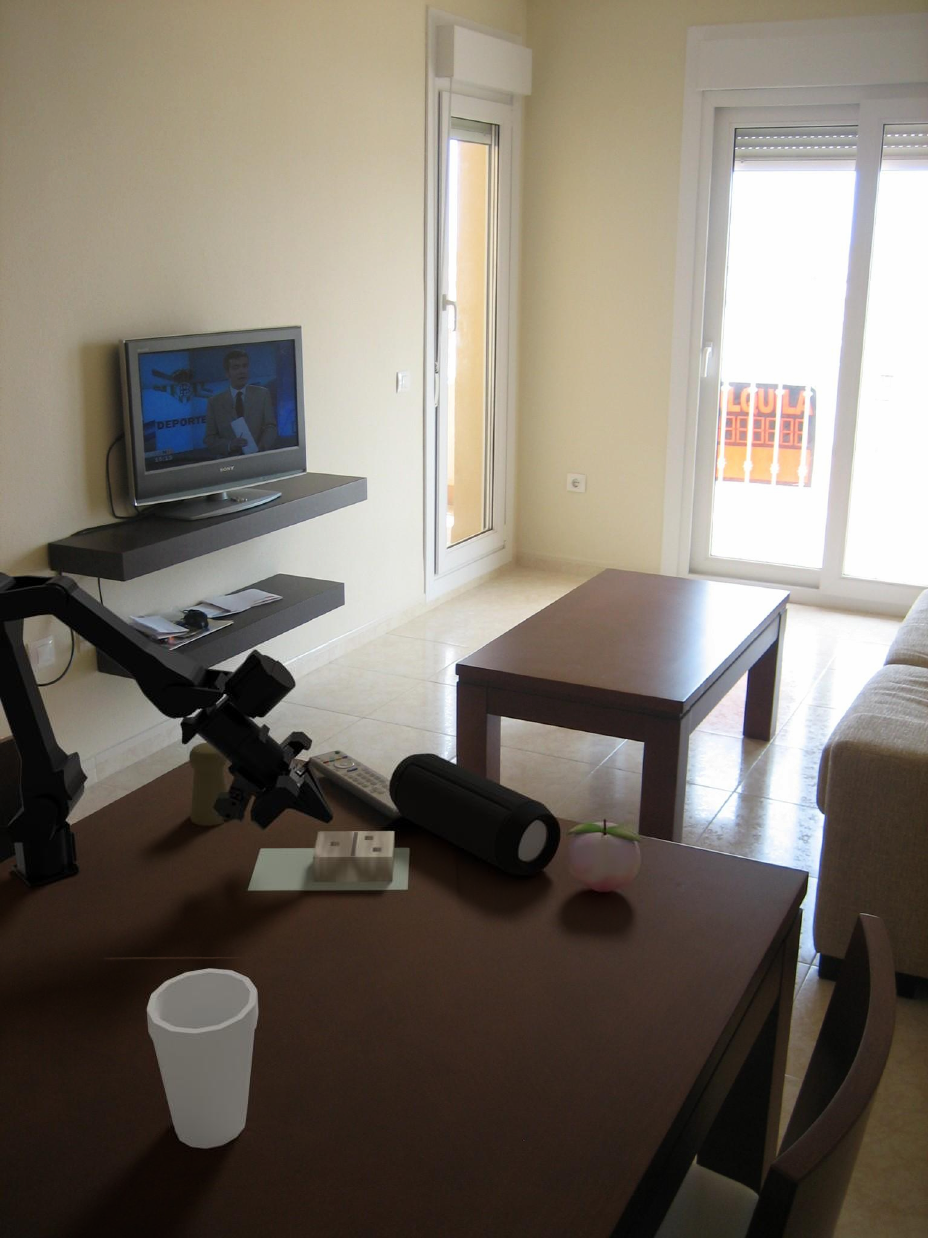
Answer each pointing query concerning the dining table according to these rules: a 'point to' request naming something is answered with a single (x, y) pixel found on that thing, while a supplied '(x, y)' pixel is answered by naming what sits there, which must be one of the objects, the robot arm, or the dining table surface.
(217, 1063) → the foam cup
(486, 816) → the portable speaker
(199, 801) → the cork
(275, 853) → the plate
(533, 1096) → the dining table surface
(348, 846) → the domino
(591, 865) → the decorative fruit
